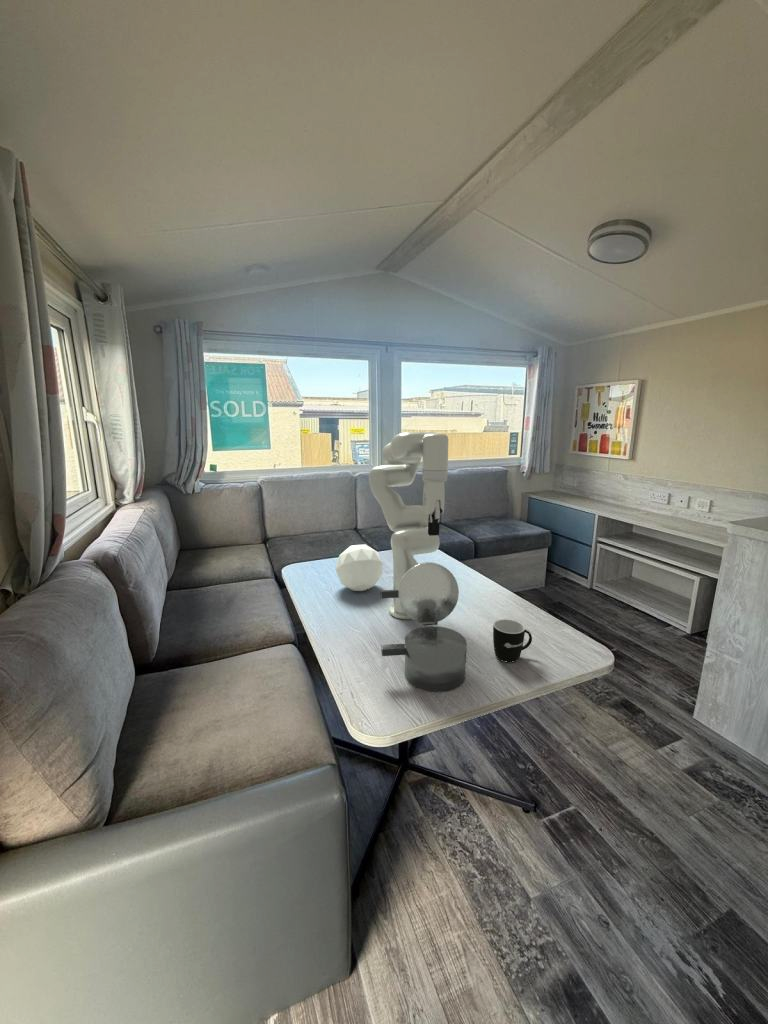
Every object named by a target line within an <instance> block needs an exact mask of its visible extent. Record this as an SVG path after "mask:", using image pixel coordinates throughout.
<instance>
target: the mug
mask: <svg viewBox="0 0 768 1024" xmlns="http://www.w3.org/2000/svg"><path fill="white" fill-rule="evenodd" d="M526 634H528V641H527V642H526V643H525V644H524V640H525V635H526ZM492 638H493V639H492V642H493V648H494V654H495V657H496V656H497V657H498V658H499V659H500V660H499V659H498V658H497V657H496V658H497V659H498V660H499V661H501V660H503V661H507V662H506V663H508V662H512V661H515V662H517V661H518V660H519V658H520V657H521V654H522V651H524V650H525V649H527V648H528V647H530V645H531V644H532V642H533V637H532V634H531V632H530V631H529V630H527V629H526V627H525V625H523V624H522V623H521V622H519V621H517V620H515V619H514V620H513V619H506V618H502V619H498V620H495V621H494V622H493V627H492ZM516 660H517V661H516ZM503 661H502V662H503ZM512 663H513V662H512Z"/></svg>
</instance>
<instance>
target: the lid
mask: <svg viewBox="0 0 768 1024" xmlns="http://www.w3.org/2000/svg"><path fill="white" fill-rule="evenodd" d="M459 593H460V591H459V584H458V581H457V579H456V577H455V575H454V574H453V573H452V572H451V571H450V569H448V568H446V567H445V566H443V565H441V564H439V563H436V562H428V561H427V562H422V563H418V565H415V566H414V567H412V568H411V569H409V570H408V571H407V572H406V573H405V574H404V576H403V577H402V579H401V581H400V584H399V588H398V590H393V589H381V590H380V599H393V598H399V602H400V605H401V607H402V609H403V611H404V612H405V613H406V614H407V615H408V616H409V617H410V618H411V619H410V620H413V621H415V622H418V623H419V625H420V627H426V626H438V625H439V623H438V622H441V621H443V620H445V619H446V618H447V617H449V616H450V615H451V613H452V612H453V611H454V610H455V608H456V606H457V604H458V601H459Z"/></svg>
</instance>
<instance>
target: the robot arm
mask: <svg viewBox="0 0 768 1024" xmlns="http://www.w3.org/2000/svg"><path fill="white" fill-rule="evenodd" d="M381 457H382V460H383V461H384V462H385V463H386V464H385V465H378V466H374V467H373V468H372V469H371V470H369V473H368V484H369V487H370V491H371V493H372V496H374V498H375V500H376V501H377V502H378V504H379V506H380V508H381V510H382V512H383V517H384V519H385V521H386V524H387V526H388V528H389V529H390V530H391V531H392V532H393V533H392V534H391V537H390V546H391V551H392V552H391V553H392V559H393V560H392V561H393V564H392V566H393V570H392V571H393V577H392V578H393V579H392V580H393V583H392V584H393V589H392V590H398V588H399V584H400V581H401V579H402V577H403V576H404V574H405V573H406V572H407V571H408V570H409V569H411V568H412V567H414V566H415V565H418V564H419V562H418V561H417V560H416V559H415V558H414V556H417V555H423V554H424V555H425V554H432V553H435V552H436V551H437V550H439V547H440V544H441V543H440V542H441V541H440V537H439V536H440V522H441V521H440V519H441V517H440V516H441V515H443V514H444V512H445V503H446V502H445V499H446V498H445V496H446V495H445V492H446V491H445V488H446V487H445V482H447V481H448V473H449V472H448V470H449V436H448V435H447V434H446V433H445V434H444V433H438V432H425V431H424V432H417V431H416V432H402V433H401V432H400V433H398V434H396V435H394V436H393V437H392V439H391V442H389V443H387V444H386V445H384V447H383V448H382V451H381ZM421 461H422V468H421V469H422V471H421V472H422V473H421V477H422V478H421V479H422V482H423V492H422V494H423V495H422V505H419V504H415V505H414V504H413V505H407V504H405V503H404V501H403V499H402V496H401V495H400V494H399V493H398V492H396V491H395V490H394V489H392V488H393V487H394V488H395V487H407V486H410V485H411V484H413V482H414V481H415V478H416V475H417V473H418V470H419V466H420V465H421ZM391 487H392V488H391ZM392 599H393V601H392V602H393V604H392V605H390V606H389V609H388V612H389V613H388V614H390V615H391V616H392V617H393V618H397V619H400V620H412V619H411V618H410V617H409V616H408V615H407V614H406V613H405V612H404V611H403V609H402V607H401V605H400V602H399V598H392Z"/></svg>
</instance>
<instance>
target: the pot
mask: <svg viewBox="0 0 768 1024" xmlns="http://www.w3.org/2000/svg"><path fill="white" fill-rule="evenodd" d="M467 645H468V643H467V640H466V638H465V636H464V635H462V633H460V632H458V631H457V630H454V629H451V628H449V627H445V626H438V625H427V626H420V627H417V628H414V629H413V630H410V631H409V632H408V633H407V634H406V635H405V637H404V643H396V644H395V643H393V644H391V643H390V644H381V646H380V647H381V648H380V649H381V650H380V651H381V652H380V653H381V657H392V656H394V657H395V656H404V669H403V670H404V671H403V672H404V677H405V679H406V680H407V682H408V683H410V685H412V686H413V687H415V688H417V689H419V690H423V691H425V692H430V693H445V692H446V693H447V692H452V691H454V690H456V689H458V688H460V687H461V686H462V685H463V684H464V683H465V680H466V670H467V669H466V668H467V651H468V650H467V649H468V648H467V647H468V646H467Z"/></svg>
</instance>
